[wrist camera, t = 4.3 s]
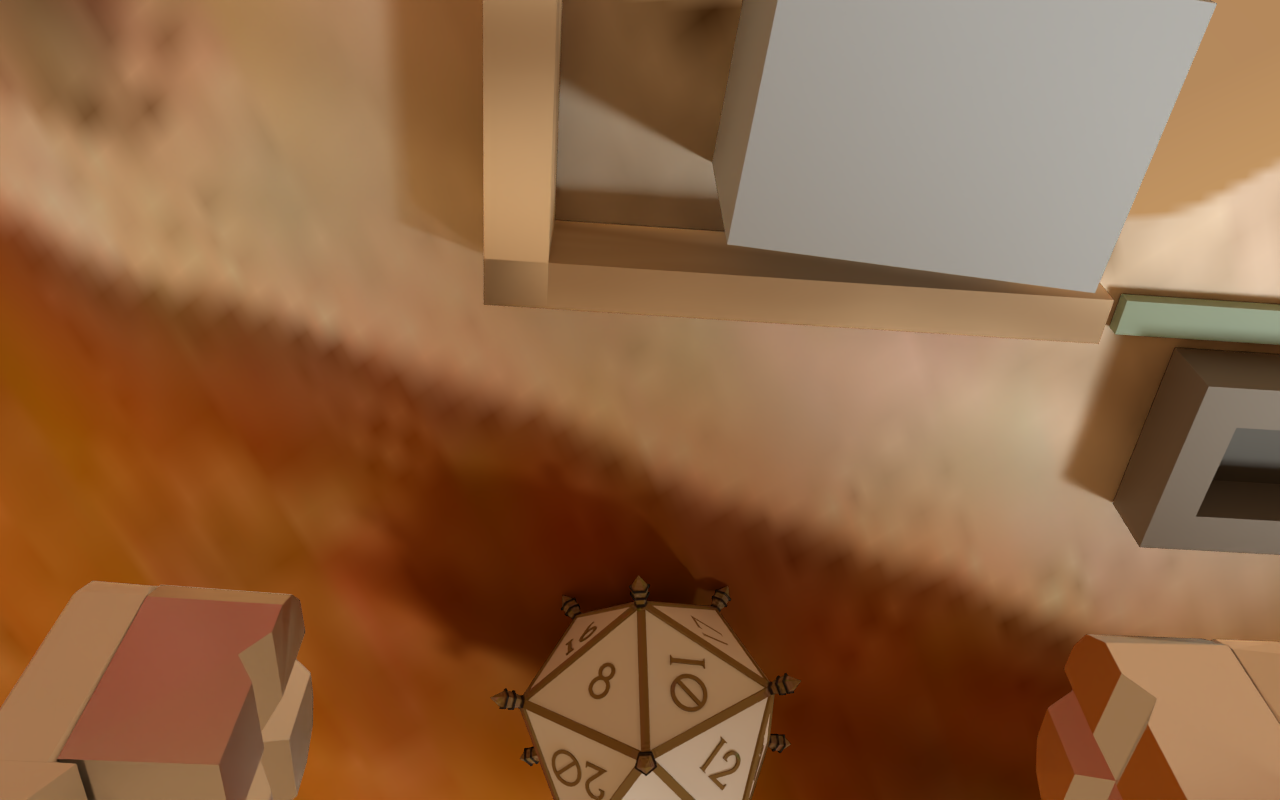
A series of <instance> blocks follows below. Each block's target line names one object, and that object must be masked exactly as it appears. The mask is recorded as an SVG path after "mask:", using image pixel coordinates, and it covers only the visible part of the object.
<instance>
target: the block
mask: <svg viewBox="0 0 1280 800" xmlns="http://www.w3.org/2000/svg"><path fill="white" fill-rule="evenodd" d="M1216 4H1217V3H1215V2H1213V1H1211V0H743V3H742V8H741V13H740V19H739V24H738V29H737V34H736V40H735V45H734V50H733V55H732V61H731V66H730V71H729V76H728V82H727V87H726V92H725V97H724V103H723V108H722V113H721V118H720V124H719V129H718V134H717V139H716V145H715V150H714V155H713V160H712V164H713V170H714V175H715V181H716V186H717V191H718V197H719V202H720V208H721V213H722V219H723V224H724V230H725V235H726V240H727V244H728V245H736V246H743V247H751V248H758V249H766V250H773V251H781V252H788V253H796V254H803V255H811V256H819V257H826V258H834V259H841V260H849V261H856V262H864V263H871V264H879V265H886V266H894V267H901V268H909V269H916V270H924V271H931V272H939V273H947V274H954V275H962V276H969V277H977V278H984V279H992V280H999V281H1007V282H1014V283H1022V284H1029V285H1037V286H1044V287H1052V288H1059V289H1067V290H1075V291H1082V292H1090V293H1095V292H1096V290H1097V287H1098V285H1099V282H1100V280H1101V278H1102V275H1103V273H1104V271H1105V268H1106V266H1107V263H1108V261H1109V259H1110V256H1111V254H1112V252H1113V249H1114V247H1115V244H1116V242H1117V240H1118V237H1119V235H1120V233H1121V230H1122V228H1123V225H1124V223H1125V221H1126V218H1127V216H1128V214H1129V211H1130V209H1131V206H1132V204H1133V202H1134V199H1135V197H1136V194H1137V192H1138V190H1139V187H1140V185H1141V183H1142V180H1143V178H1144V175H1145V173H1146V171H1147V168H1148V166H1149V164H1150V161H1151V158H1152V156H1153V154H1154V151H1155V149H1156V147H1157V145H1158V142H1159V140H1160V137H1161V135H1162V133H1163V130H1164V128H1165V125H1166V123H1167V121H1168V118H1169V116H1170V114H1171V111H1172V109H1173V106H1174V104H1175V102H1176V99H1177V97H1178V95H1179V92H1180V90H1181V87H1182V85H1183V83H1184V80H1185V78H1186V76H1187V73H1188V71H1189V68H1190V66H1191V64H1192V61H1193V59H1194V57H1195V54H1196V52H1197V50H1198V47H1199V45H1200V42H1201V40H1202V38H1203V35H1204V33H1205V31H1206V28H1207V26H1208V23H1209V21H1210V19H1211V16H1212V14H1213V12H1214V9H1215V7H1216Z"/></svg>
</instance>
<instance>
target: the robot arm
mask: <svg viewBox="0 0 1280 800" xmlns="http://www.w3.org/2000/svg"><path fill="white" fill-rule="evenodd" d="M304 634H305V627H304V621H303V615H302V609H301V603H300V600H299V599H298V598H296V597H295V596H293V595H291V594H278V593H264V592H251V591H237V590H224V589H211V588H197V587H184V586H170V585H160V586H149V585H137V584H124V583H112V582H99V581H92V582H90V583H89V584H87V585H86V586H84V587H83V588H82V589H80V590H79V591H77V592H76V593H75V594H74V595H73V596H72V597H71V599H70V600H69V602H68V604H67V605H66V607H65V608H64V610H63V611H62V613H61V615H60V616H59V618H58V619H57V621H56V622H55V624H54V625H53V627H52V629H51V630H50V632H49V633H48V635H47V636H46V638H45V639H44V641H43V643H42V644H41V646H40V647H39V649H38V650H37V652H36V653H35V655H34V657H33V658H32V660H31V661H30V663H29V664H28V666H27V667H26V669H25V671H24V672H23V674H22V675H21V677H20V678H19V680H18V682H17V683H16V685H15V686H14V688H13V689H12V691H11V692H10V694H9V696H8V697H7V699H6V700H5V702H4V703H3V705H2V706H1V708H0V800H292V799H293V798H295V797H296V796H297V793H298V790H299V787H300V783H301V780H302V776H303V773H304V769H305V766H306V763H307V757H308V750H309V744H310V738H311V732H312V725H313V690H312V681H311V673H310V672H309V671H308V670H307V669H306V668H305V667H304V666H303V665H302V664H300V663H299V662H298V661H297V660H296V657H297V654H298V651H299V648H300V645H301V643H302V640H303V637H304ZM1064 671H1065V673H1066V675H1067V678H1068V680H1069V682H1070V684H1071V686H1072V689H1073V691H1071V692H1070V693H1068V694H1067V695H1065V696H1064V697H1062V698H1061V699H1060V700H1058V701H1057V702H1055V703H1054V704H1052V705H1051V706H1050V707H1048V708H1047V711H1046V714H1045V716H1044V719H1043V722H1042V725H1041V728H1040V730H1039V733H1038V736H1037V752H1036V774H1037V780H1038V785H1039V790H1040V796H1041V800H1280V642H1278V641H1252V640H1226V639H1213V640H1210V641H1209V640H1205V639H1192V638H1168V637H1144V636H1120V635H1095V634H1086V635H1085V636H1084V637H1083V638H1082V639H1081V640H1080V641H1079V642H1077V643H1076V644H1075V645H1074V646H1073V648H1072V651H1071V653H1070V655H1069V658H1068V660H1067V662H1066V665H1065V667H1064Z"/></svg>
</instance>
